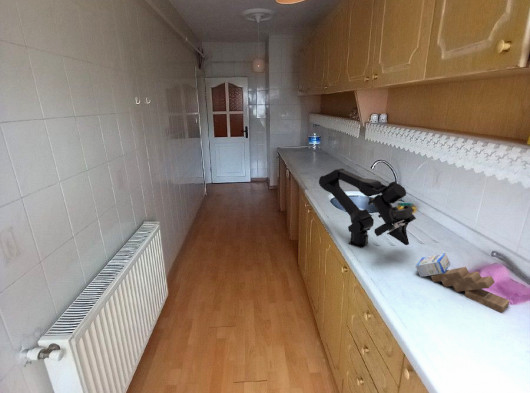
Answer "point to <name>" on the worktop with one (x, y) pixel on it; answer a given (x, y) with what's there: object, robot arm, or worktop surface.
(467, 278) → the walnut domino
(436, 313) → the worktop surface
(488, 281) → the walnut domino
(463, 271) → the walnut domino
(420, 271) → the medicine box
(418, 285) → the worktop surface
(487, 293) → the walnut domino
